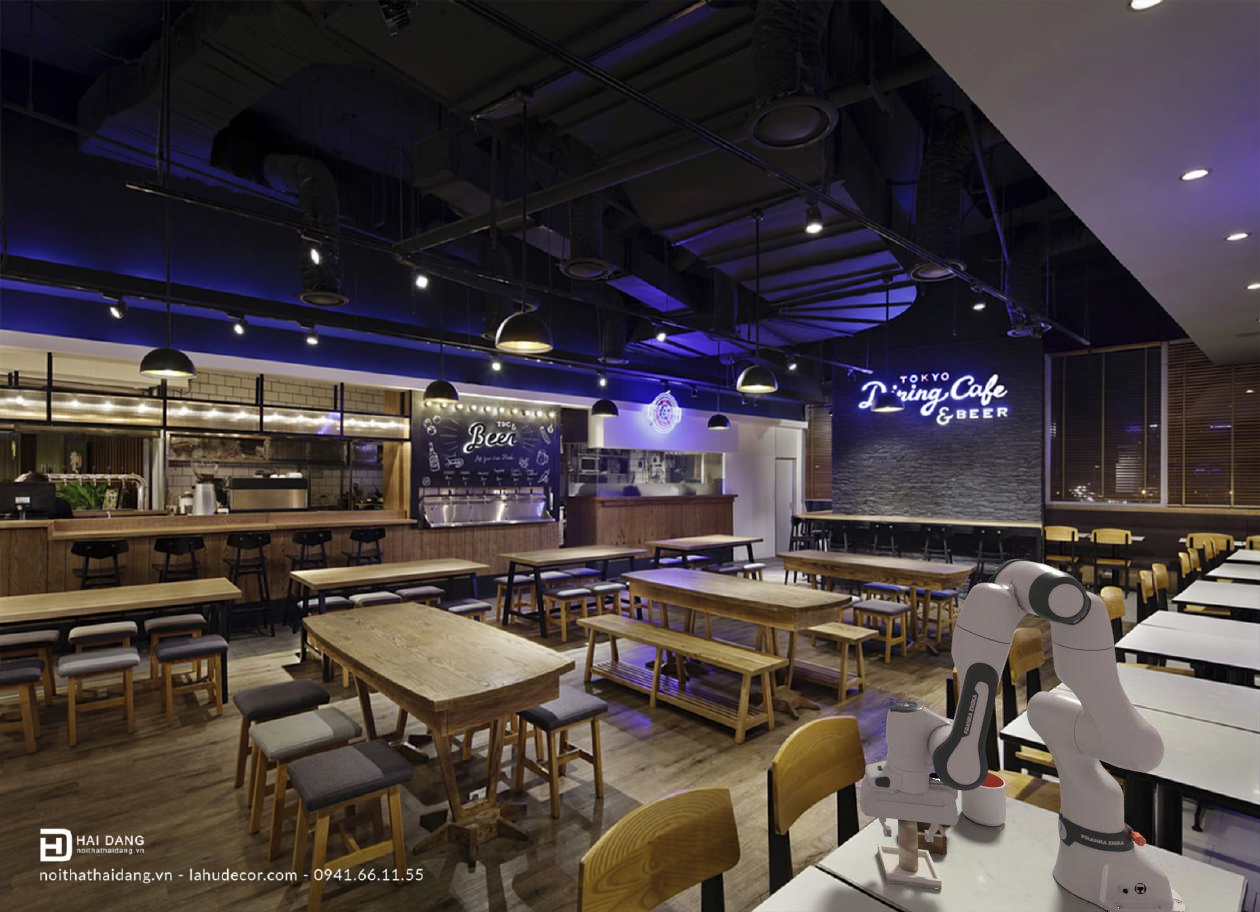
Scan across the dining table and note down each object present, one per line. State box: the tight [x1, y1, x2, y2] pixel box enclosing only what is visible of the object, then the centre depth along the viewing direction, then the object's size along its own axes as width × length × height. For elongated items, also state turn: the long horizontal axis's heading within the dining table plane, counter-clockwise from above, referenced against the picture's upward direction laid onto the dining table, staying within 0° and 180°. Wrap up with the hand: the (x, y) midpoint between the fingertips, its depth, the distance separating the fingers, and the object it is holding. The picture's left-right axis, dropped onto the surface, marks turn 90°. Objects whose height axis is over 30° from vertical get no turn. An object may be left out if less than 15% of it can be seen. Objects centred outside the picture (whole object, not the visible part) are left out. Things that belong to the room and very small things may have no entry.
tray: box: [877, 844, 942, 890], centre depth 140 cm, size 11×11×2 cm
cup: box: [960, 771, 1007, 827], centre depth 161 cm, size 10×10×10 cm
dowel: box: [897, 819, 918, 872], centre depth 140 cm, size 4×4×10 cm
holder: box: [917, 822, 948, 856], centre depth 150 cm, size 8×8×4 cm
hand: (908, 838), depth 140 cm, fingers open, 7 cm apart
